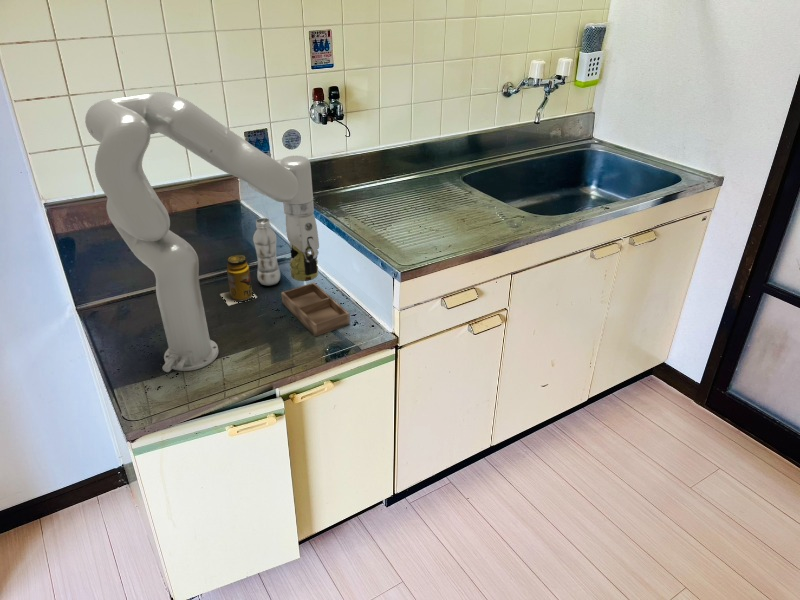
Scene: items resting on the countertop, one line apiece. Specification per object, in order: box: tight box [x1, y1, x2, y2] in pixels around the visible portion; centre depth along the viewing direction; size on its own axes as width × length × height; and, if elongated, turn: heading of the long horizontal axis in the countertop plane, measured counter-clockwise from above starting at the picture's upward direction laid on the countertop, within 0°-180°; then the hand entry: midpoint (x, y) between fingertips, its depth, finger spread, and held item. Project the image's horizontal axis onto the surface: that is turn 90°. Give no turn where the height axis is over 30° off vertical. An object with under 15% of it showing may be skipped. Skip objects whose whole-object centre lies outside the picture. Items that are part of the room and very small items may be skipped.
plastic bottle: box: [252, 217, 281, 287], centre depth 173 cm, size 6×7×20 cm
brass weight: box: [289, 245, 319, 282], centre depth 159 cm, size 7×7×10 cm
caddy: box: [280, 282, 351, 337], centre depth 163 cm, size 20×10×4 cm, turn 35°
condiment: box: [219, 254, 258, 307], centre depth 168 cm, size 7×8×12 cm
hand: (304, 267), depth 161 cm, fingers closed on brass weight, 7 cm apart
